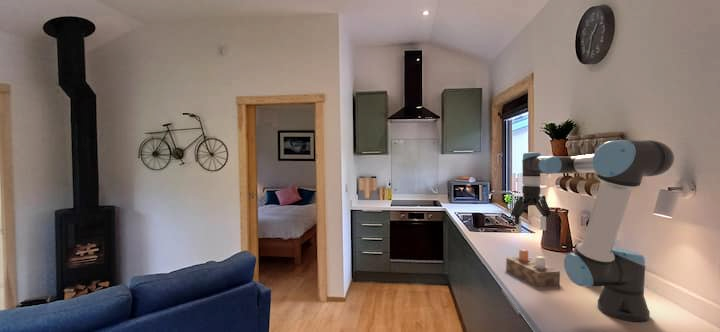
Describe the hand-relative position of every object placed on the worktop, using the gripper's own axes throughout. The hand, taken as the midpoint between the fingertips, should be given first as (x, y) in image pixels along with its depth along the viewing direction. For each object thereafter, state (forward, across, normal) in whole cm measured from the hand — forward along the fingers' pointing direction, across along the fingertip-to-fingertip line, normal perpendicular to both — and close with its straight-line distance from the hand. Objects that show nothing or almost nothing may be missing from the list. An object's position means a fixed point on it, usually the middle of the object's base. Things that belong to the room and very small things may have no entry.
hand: (530, 230), depth 157 cm
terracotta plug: (+17, -2, -7) cm, 19 cm away
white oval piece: (+18, -2, +4) cm, 18 cm away
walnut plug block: (+22, -2, -2) cm, 22 cm away
